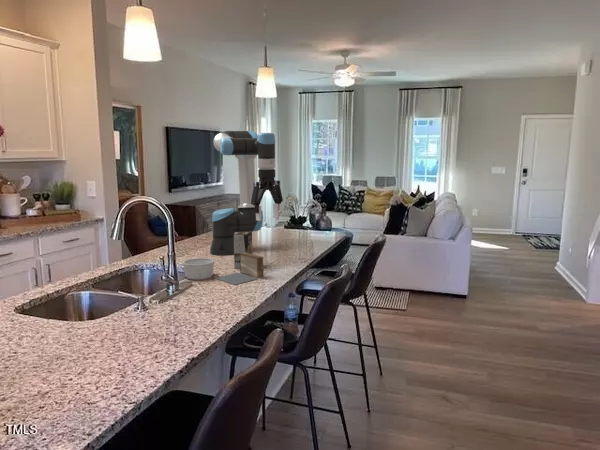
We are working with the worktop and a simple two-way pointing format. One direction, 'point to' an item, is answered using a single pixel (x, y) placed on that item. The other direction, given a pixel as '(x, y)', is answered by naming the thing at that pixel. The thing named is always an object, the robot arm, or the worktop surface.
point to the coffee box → (241, 246)
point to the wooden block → (251, 265)
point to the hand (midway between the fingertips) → (267, 219)
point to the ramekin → (198, 268)
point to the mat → (236, 278)
